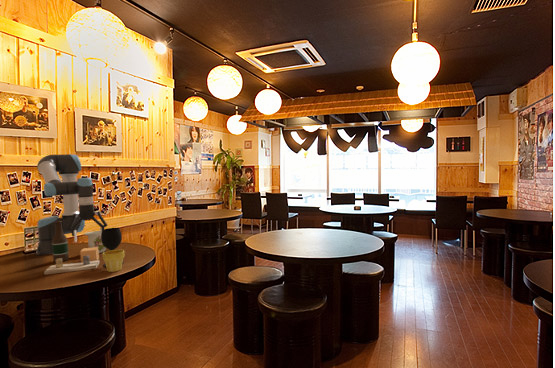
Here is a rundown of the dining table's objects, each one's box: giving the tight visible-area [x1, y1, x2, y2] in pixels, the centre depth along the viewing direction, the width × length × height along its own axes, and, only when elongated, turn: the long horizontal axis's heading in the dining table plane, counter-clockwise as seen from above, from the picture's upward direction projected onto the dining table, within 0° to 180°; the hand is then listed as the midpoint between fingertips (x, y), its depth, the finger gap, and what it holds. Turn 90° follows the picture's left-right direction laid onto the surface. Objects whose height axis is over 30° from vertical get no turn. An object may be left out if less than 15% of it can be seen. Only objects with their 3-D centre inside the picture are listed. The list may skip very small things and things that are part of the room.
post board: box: [43, 255, 101, 276], centre depth 184 cm, size 12×24×6 cm, turn 109°
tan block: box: [79, 247, 100, 262], centre depth 198 cm, size 8×8×7 cm
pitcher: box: [83, 230, 107, 254], centre depth 219 cm, size 11×18×14 cm, turn 137°
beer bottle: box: [52, 221, 70, 263], centre depth 200 cm, size 8×8×24 cm
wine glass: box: [101, 227, 124, 268], centre depth 188 cm, size 10×10×20 cm
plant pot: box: [102, 249, 125, 273], centre depth 178 cm, size 10×10×10 cm
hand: (89, 240), depth 197 cm, fingers open, 13 cm apart
